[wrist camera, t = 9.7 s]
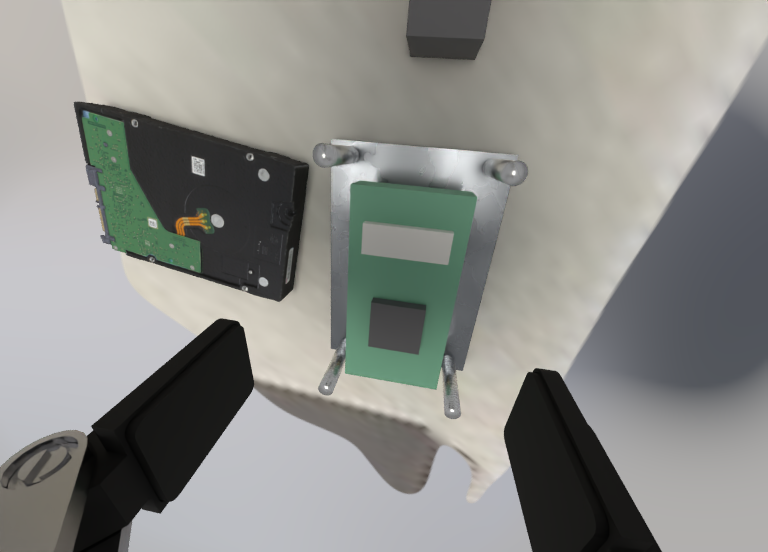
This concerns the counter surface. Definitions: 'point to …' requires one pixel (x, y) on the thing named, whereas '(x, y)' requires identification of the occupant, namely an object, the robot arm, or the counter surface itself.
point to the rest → (447, 28)
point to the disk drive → (194, 200)
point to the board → (403, 278)
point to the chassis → (423, 169)
